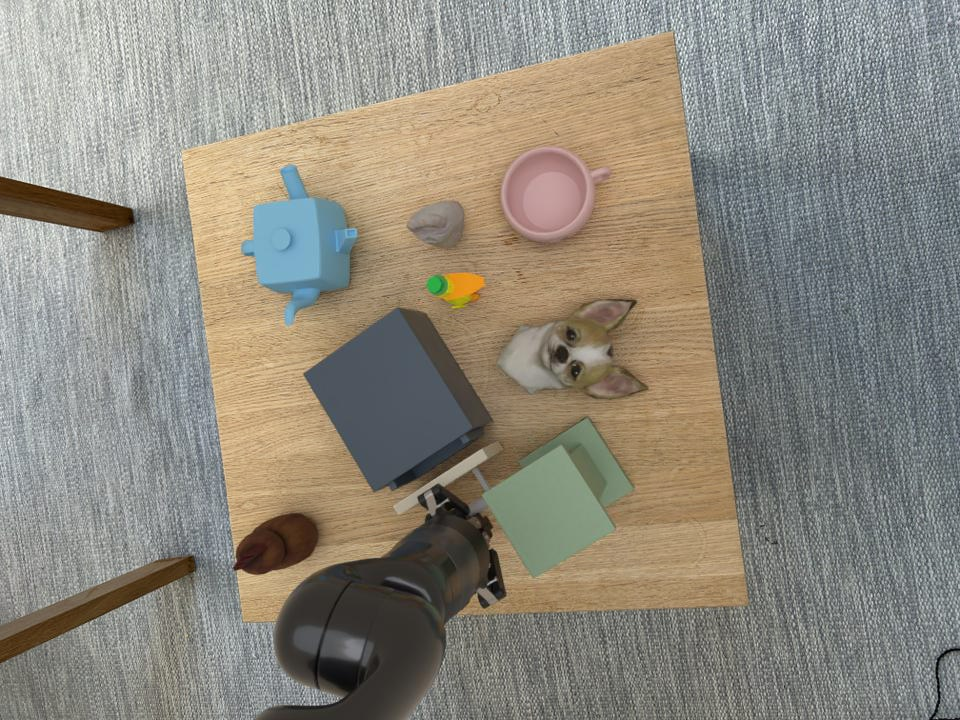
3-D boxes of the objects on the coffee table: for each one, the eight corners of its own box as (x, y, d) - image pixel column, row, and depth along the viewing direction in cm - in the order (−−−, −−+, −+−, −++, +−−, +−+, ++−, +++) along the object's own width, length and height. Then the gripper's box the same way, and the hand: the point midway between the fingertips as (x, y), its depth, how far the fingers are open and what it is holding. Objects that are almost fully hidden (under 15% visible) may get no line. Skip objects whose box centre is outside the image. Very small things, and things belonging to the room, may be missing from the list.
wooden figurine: (318, 502, 91) (252, 529, 76) (332, 549, 90) (268, 585, 76) (268, 517, 92) (194, 546, 78) (282, 564, 92) (210, 602, 77)
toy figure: (499, 273, 86) (473, 259, 74) (503, 305, 86) (478, 296, 74) (441, 282, 87) (407, 270, 76) (445, 313, 87) (412, 306, 76)
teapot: (267, 184, 92) (220, 163, 83) (377, 169, 89) (342, 145, 79) (277, 333, 92) (231, 330, 82) (387, 324, 89) (353, 319, 79)
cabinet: (493, 420, 86) (473, 428, 77) (404, 478, 88) (373, 492, 79) (425, 312, 88) (397, 306, 78) (339, 372, 90) (302, 373, 81)
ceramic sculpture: (486, 310, 77) (638, 289, 74) (499, 314, 85) (635, 296, 83) (500, 415, 77) (652, 398, 74) (511, 409, 85) (648, 394, 83)
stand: (634, 487, 82) (625, 532, 61) (564, 529, 84) (531, 587, 63) (588, 416, 83) (563, 435, 62) (520, 459, 85) (472, 492, 64)
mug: (525, 261, 85) (515, 254, 79) (496, 178, 86) (484, 165, 80) (629, 220, 82) (627, 210, 77) (598, 135, 83) (593, 119, 77)
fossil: (466, 205, 87) (441, 185, 77) (483, 230, 86) (460, 213, 76) (425, 235, 88) (395, 219, 78) (441, 260, 87) (413, 247, 78)
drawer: (524, 483, 84) (511, 495, 77) (441, 535, 86) (419, 552, 79) (439, 347, 86) (418, 346, 79) (360, 401, 89) (331, 405, 81)
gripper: (360, 523, 66) (422, 490, 83) (440, 660, 65) (486, 597, 81) (430, 479, 65) (478, 454, 82) (514, 617, 63) (545, 562, 80)
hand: (482, 526), depth 81 cm, fingers closed
